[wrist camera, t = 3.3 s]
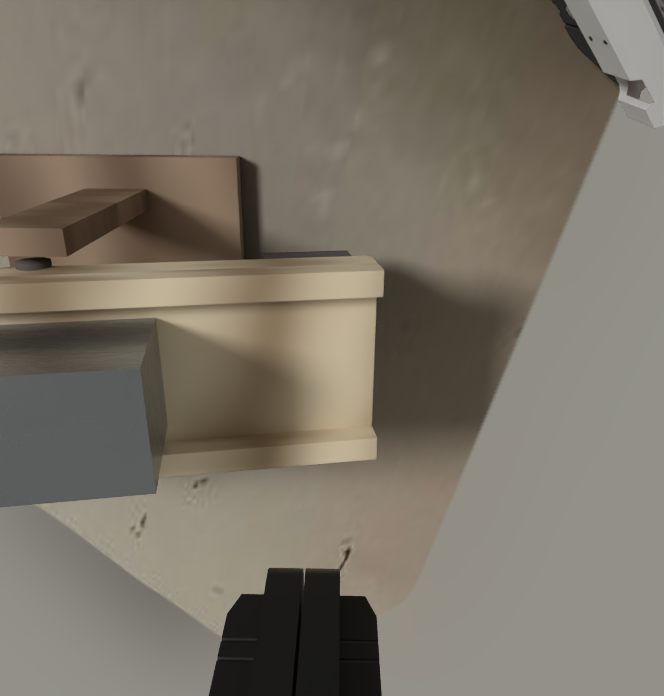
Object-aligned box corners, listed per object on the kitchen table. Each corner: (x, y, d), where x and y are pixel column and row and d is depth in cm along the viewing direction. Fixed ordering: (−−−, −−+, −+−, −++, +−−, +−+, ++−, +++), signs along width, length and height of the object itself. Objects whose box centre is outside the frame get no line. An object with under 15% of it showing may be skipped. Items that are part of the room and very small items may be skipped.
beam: (-192, 422, 28) (-345, 542, 20) (-260, 240, 24) (-472, 304, 17) (344, 386, 32) (381, 477, 24) (347, 225, 28) (391, 272, 21)
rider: (5, 436, 23) (-43, 510, 19) (-21, 325, 21) (-79, 381, 17) (167, 424, 24) (156, 493, 20) (155, 317, 22) (140, 368, 18)
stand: (47, 403, 35) (-65, 518, 26) (-2, 153, 30) (-166, 181, 20) (251, 406, 35) (216, 524, 26) (239, 156, 30) (188, 185, 20)
